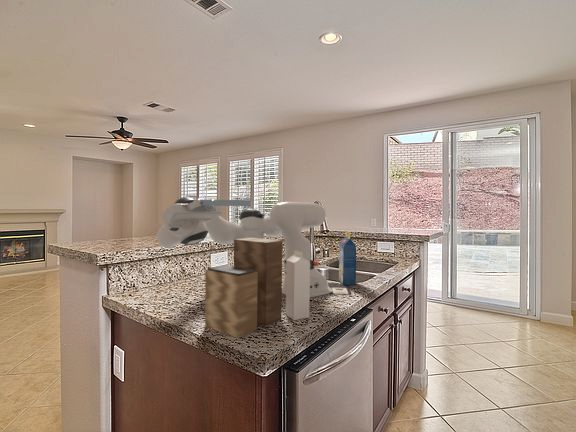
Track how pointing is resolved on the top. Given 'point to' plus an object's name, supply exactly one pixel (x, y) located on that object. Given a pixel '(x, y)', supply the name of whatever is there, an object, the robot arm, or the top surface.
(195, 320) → the top surface
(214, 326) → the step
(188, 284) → the top surface
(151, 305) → the top surface
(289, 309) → the milk
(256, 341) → the top surface
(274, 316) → the stand
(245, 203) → the slat
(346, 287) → the chocolate bar
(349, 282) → the blue food package
